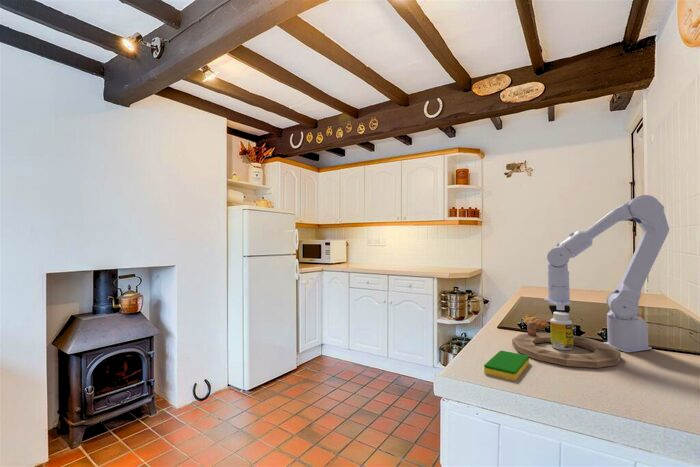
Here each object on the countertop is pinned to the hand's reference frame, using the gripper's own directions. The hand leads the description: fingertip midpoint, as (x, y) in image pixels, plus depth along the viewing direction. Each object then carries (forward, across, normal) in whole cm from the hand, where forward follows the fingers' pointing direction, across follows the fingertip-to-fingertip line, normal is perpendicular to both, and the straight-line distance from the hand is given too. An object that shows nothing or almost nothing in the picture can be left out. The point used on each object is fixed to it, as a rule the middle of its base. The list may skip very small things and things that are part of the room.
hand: (559, 328), depth 105 cm
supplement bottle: (+4, +8, 0) cm, 9 cm away
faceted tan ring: (+3, +12, 0) cm, 12 cm away
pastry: (+4, -14, -7) cm, 16 cm away
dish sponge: (+4, +32, -13) cm, 35 cm away
